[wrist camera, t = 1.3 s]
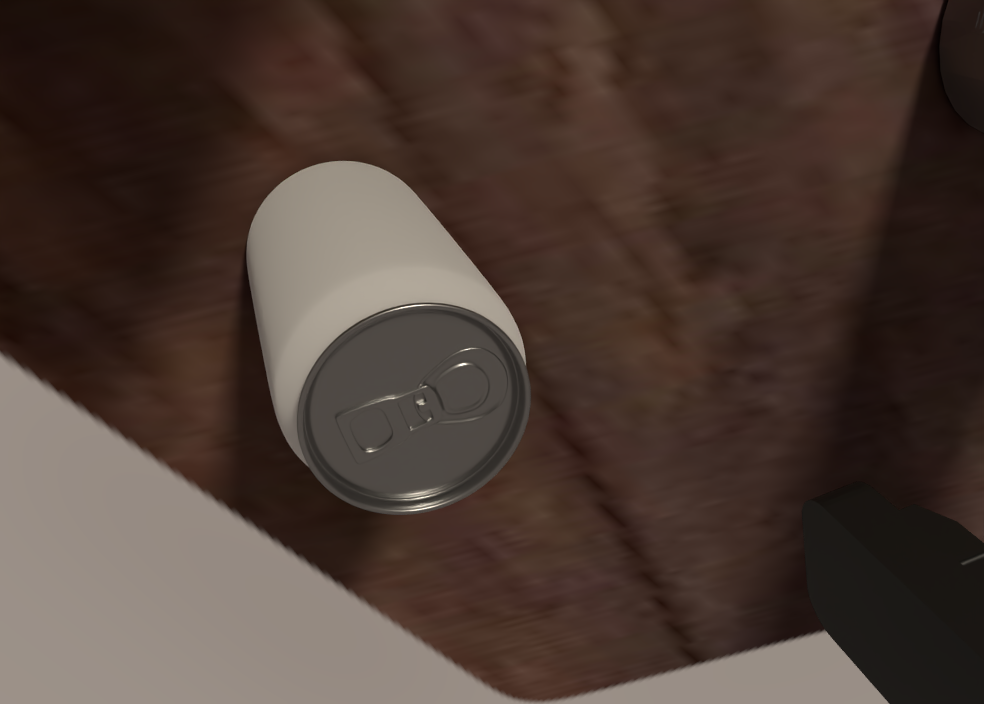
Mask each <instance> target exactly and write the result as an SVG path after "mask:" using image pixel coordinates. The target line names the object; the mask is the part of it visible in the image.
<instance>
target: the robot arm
mask: <svg viewBox="0 0 984 704" xmlns="http://www.w3.org/2000/svg"><path fill="white" fill-rule="evenodd" d="M939 52H940V72H941V76H942V80H943V84H944V88H945V92H946V94H947V96H948V98H949V100H950V102H951V104H952V106H953V108H954V109H955V111H956V112H957V113H958V114H959V115H960V116H961V117H962V118H963V120H964V121H965V122H966V123H967V124H968V125H970V126H972V127H974V128H976V129H977V130H979V131H981V132H983V133H984V0H948V4H947V7H946V10H945V14H944V17H943V22H942V29H941V37H940V44H939ZM802 521H803V534H804V548H805V562H806V576H807V588H808V593H809V597H810V600H811V603H812V606H813V608H814V610H815V613H816V615H817V617H818V618H819V620H820V622H821V624H822V625H823V627H824V628H825V630H826V631H827V633H828V634H829V635H830V636H831V637H832V639H833V640H834V641H835V642H836V643H837V644H838V645H839V647H840V648H841V649H842V650H843V651H844V652H845V653H846V655H847V656H848V657H849V658H850V659H851V660H852V661H853V663H854V664H855V665H856V666H857V667H858V668H859V669H860V671H861V672H862V673H863V674H864V675H865V676H866V677H867V679H868V680H869V681H870V682H871V683H872V684H873V685H874V686H875V688H876V689H877V690H878V691H879V692H880V693H881V694H882V696H883V697H884V698H885V699H886V700H887V701H888V703H889V704H984V543H983V542H982V541H981V540H979V539H978V538H977V537H976V536H974V535H973V534H972V533H971V532H969V531H968V530H967V529H966V528H964V527H963V526H962V525H961V524H959V523H958V522H957V521H954V520H952V519H949V518H947V517H944V516H942V515H940V514H937V513H935V512H932V511H930V510H927V509H925V508H923V507H920V506H918V505H915V504H913V505H911V506H908V507H906V508H903V509H901V510H898V509H897V508H896V507H894V506H893V505H892V504H891V503H890V502H889V501H887V500H886V499H885V498H884V497H883V496H882V495H880V494H879V493H878V492H877V491H876V490H875V489H873V488H872V487H871V486H869V485H868V484H866V483H864V482H855V483H852V484H849V485H847V486H844V487H842V488H839V489H837V490H834V491H831V492H829V493H826V494H824V495H821V496H819V497H816V498H814V499H811V500H808V501H806V502H805V503H804V505H803V509H802Z"/></svg>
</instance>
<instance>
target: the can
mask: <svg viewBox="0 0 984 704" xmlns="http://www.w3.org/2000/svg"><path fill="white" fill-rule="evenodd" d="M246 259H247V269H248V276H249V283H250V288H251V294H252V300H253V305H254V311H255V316H256V322H257V327H258V332H259V338H260V343H261V348H262V353H263V359H264V364H265V369H266V374H267V379H268V384H269V389H270V393H271V398H272V402H273V406H274V410H275V414H276V417H277V420H278V423H279V425H280V428H281V430H282V432H283V434H284V436H285V438H286V440H287V442H288V444H289V445H290V447H291V448H292V450H293V451H294V452H295V454H296V455H297V456H298V457H299V458H300V459H301V460H302V461H303V462H304V463H305V464H306V465H307V466H308V467H309V468H310V469H311V471H312V472H313V474H314V475H315V477H316V478H317V479H318V480H319V481H320V482H321V484H322V485H323V486H325V487H326V488H327V489H328V490H329V491H330V492H331V493H333V494H334V495H336V496H337V497H338V498H340V499H342V500H343V501H345V502H347V503H349V504H351V505H354V506H356V507H359V508H361V509H364V510H368V511H372V512H376V513H382V514H393V515H406V514H417V513H423V512H428V511H432V510H436V509H439V508H442V507H445V506H448V505H451V504H453V503H455V502H457V501H459V500H461V499H463V498H465V497H467V496H469V495H470V494H472V493H474V492H475V491H477V490H478V489H479V488H481V487H482V486H483V485H485V484H486V483H487V482H488V481H490V480H491V479H492V478H493V477H494V476H495V475H496V474H497V473H498V472H499V471H500V470H501V469H502V467H503V466H504V465H505V464H506V463H507V461H508V460H509V459H510V457H511V456H512V454H513V453H514V451H515V450H516V448H517V446H518V444H519V442H520V440H521V438H522V436H523V433H524V431H525V428H526V424H527V421H528V417H529V412H530V403H531V389H530V380H529V375H528V371H527V368H526V359H525V351H524V345H523V341H522V338H521V335H520V332H519V329H518V327H517V325H516V323H515V321H514V319H513V317H512V315H511V313H510V312H509V310H508V308H507V307H506V305H505V304H504V303H503V301H502V300H501V298H500V297H499V296H498V294H497V293H496V292H495V290H494V289H493V288H492V287H491V285H490V284H489V283H488V282H487V280H486V279H485V278H484V277H483V275H482V274H481V273H480V272H479V270H478V269H477V268H476V267H475V265H474V264H473V263H472V262H471V260H470V259H469V258H468V257H467V255H466V254H465V253H464V252H463V251H462V249H461V248H460V247H459V246H458V244H457V243H456V242H455V241H454V239H453V238H452V237H451V236H450V235H449V233H448V232H447V231H446V230H445V228H444V227H443V226H442V225H441V224H440V222H439V221H438V220H437V219H436V218H435V216H434V215H433V214H432V213H431V212H430V210H429V209H428V208H427V207H426V206H425V204H424V203H423V202H422V201H421V200H420V199H419V197H418V196H417V195H416V194H415V193H414V192H413V191H412V190H411V189H410V188H409V187H408V186H407V185H406V184H405V183H404V182H403V181H401V180H400V179H399V178H397V177H396V176H394V175H393V174H391V173H389V172H387V171H385V170H383V169H381V168H378V167H376V166H373V165H369V164H365V163H361V162H354V161H334V162H326V163H321V164H317V165H314V166H311V167H308V168H306V169H303V170H301V171H299V172H297V173H295V174H293V175H292V176H290V177H289V178H287V179H286V180H284V181H283V182H282V183H280V184H279V185H278V186H277V187H276V188H275V189H274V190H273V191H272V192H271V193H270V194H269V195H268V196H267V198H266V199H265V200H264V202H263V203H262V204H261V206H260V208H259V209H258V211H257V213H256V215H255V217H254V219H253V222H252V224H251V227H250V231H249V235H248V240H247V251H246Z"/></svg>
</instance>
